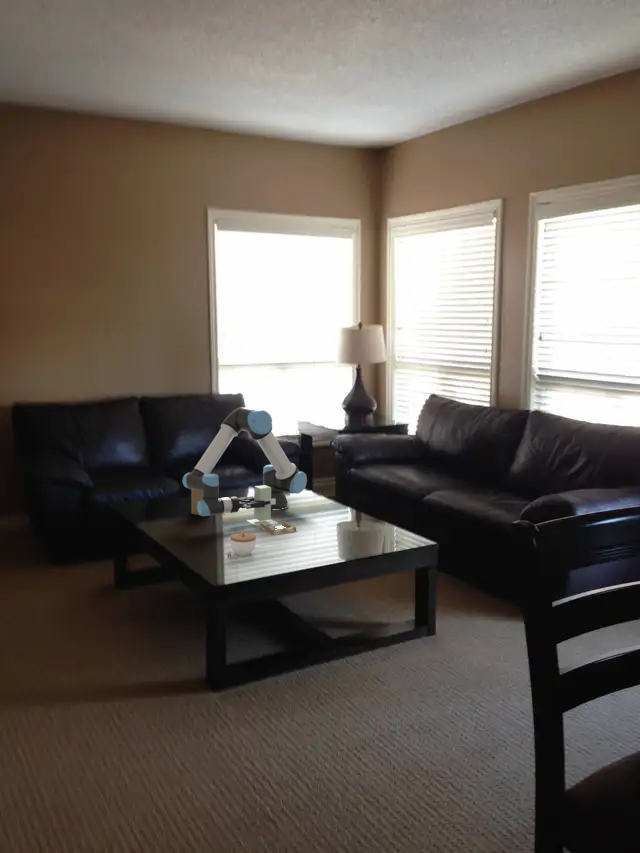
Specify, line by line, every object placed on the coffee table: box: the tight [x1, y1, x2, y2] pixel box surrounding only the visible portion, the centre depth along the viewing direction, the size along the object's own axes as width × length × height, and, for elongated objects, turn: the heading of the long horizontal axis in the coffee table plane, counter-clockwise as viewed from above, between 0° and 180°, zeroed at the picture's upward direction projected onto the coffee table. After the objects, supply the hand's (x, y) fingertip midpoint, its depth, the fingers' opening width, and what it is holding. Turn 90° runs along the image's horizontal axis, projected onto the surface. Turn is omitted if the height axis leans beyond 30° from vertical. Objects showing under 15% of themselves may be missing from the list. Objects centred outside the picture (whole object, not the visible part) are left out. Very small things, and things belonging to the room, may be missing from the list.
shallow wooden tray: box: [259, 520, 297, 536], centre depth 354 cm, size 12×13×2 cm
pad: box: [245, 518, 279, 527], centre depth 367 cm, size 12×12×1 cm
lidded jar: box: [230, 531, 257, 557], centre depth 318 cm, size 11×11×9 cm
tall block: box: [253, 484, 272, 521], centre depth 366 cm, size 6×6×16 cm
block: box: [190, 489, 202, 516], centre depth 382 cm, size 10×10×20 cm
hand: (271, 499), depth 369 cm, fingers closed on tall block, 6 cm apart
